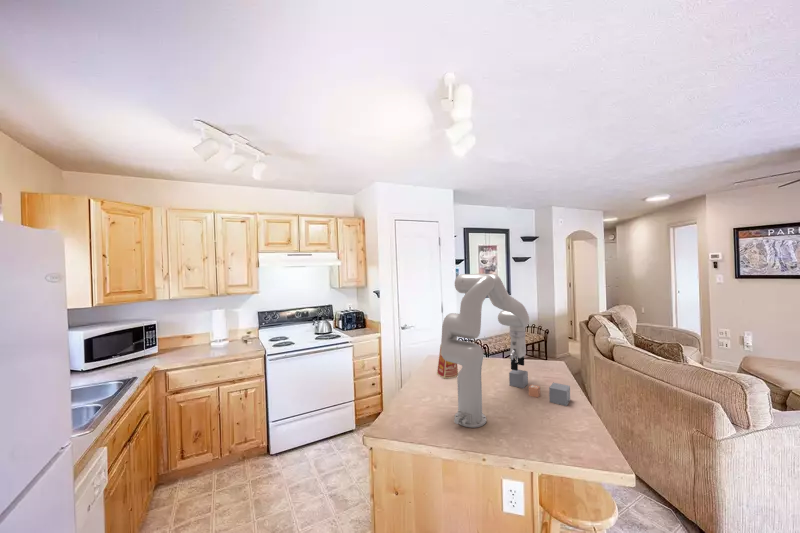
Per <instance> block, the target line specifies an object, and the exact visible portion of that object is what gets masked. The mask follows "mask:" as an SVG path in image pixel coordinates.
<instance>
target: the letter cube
mask: <svg viewBox="0 0 800 533" xmlns="http://www.w3.org/2000/svg"><path fill="white" fill-rule="evenodd" d="M528 396H529V397H533V398H540V396H541V386H540V385H535V384H530V385H529V386H528Z"/></svg>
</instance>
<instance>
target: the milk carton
mask: <svg viewBox="0 0 800 533" xmlns="http://www.w3.org/2000/svg"><path fill="white" fill-rule="evenodd" d="M439 347H440V348H439V354H438V356H439V357H438V363H437V369H436V376H439V377H440V378H442V379H444V380H446V379H454V378H457V376H458V373H459V369H458V368H459V367H458V364H456V363H452V362H448V361H446V360H444V359H443V357H442V354H441V344H440V346H439Z"/></svg>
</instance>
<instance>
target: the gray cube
mask: <svg viewBox="0 0 800 533" xmlns="http://www.w3.org/2000/svg"><path fill="white" fill-rule="evenodd" d="M528 376H529V372H528V370H523V369H518V370H517V371H516V370H510V371H509V372H508V377H509V378H508V379H509V384H508V385H509V386H511V387H515V388H518V389H519V388H520V389H523V390H524V389H525V387H527V386H528V384H529V377H528Z"/></svg>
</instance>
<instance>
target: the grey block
mask: <svg viewBox="0 0 800 533" xmlns="http://www.w3.org/2000/svg"><path fill="white" fill-rule="evenodd" d="M548 390H549V391H548V392H549V394H548V396H549V403H553V404H556V405H557V404H558V405H561V406H565V407H567V406H568V404H569V403H570V401H571V386H570V385H568V384H564V383H563V384H561V383H558V382H552V384H550V386H549V388H548Z"/></svg>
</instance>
